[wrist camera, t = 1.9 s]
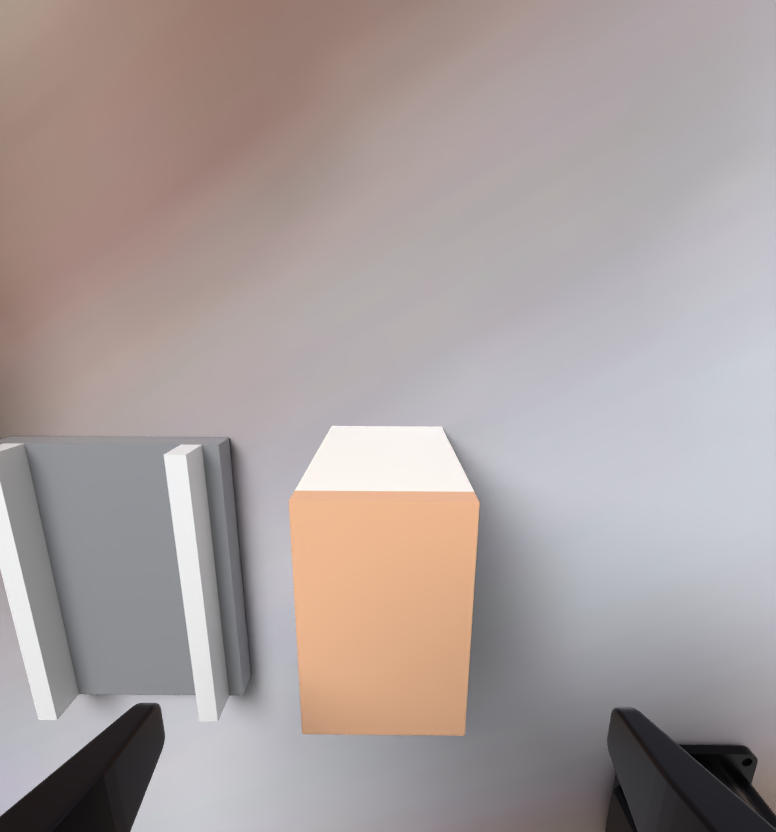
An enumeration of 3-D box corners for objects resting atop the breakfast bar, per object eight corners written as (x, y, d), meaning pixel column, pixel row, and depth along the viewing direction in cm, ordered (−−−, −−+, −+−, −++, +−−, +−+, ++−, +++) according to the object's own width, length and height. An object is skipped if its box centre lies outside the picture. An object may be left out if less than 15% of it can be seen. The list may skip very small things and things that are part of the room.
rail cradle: (228, 437, 16) (204, 454, 14) (250, 676, 19) (232, 721, 17) (11, 436, 16) (-47, 453, 14) (64, 674, 19) (23, 719, 17)
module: (441, 426, 16) (479, 502, 9) (435, 576, 18) (464, 735, 11) (332, 425, 16) (288, 501, 9) (336, 575, 18) (302, 734, 11)
